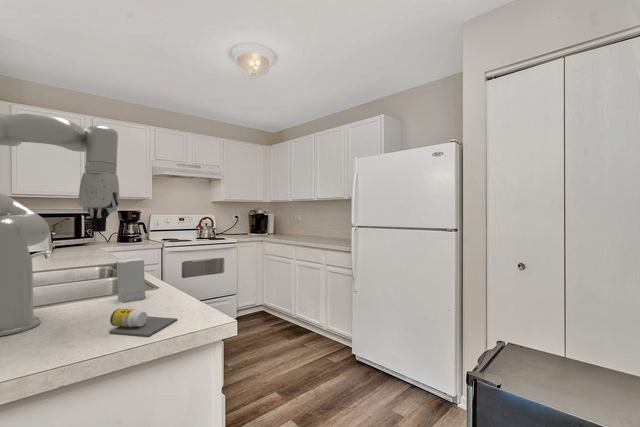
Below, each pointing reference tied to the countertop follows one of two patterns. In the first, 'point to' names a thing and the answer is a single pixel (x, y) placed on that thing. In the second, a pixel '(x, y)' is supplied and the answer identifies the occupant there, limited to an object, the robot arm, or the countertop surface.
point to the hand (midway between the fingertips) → (98, 231)
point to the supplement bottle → (128, 318)
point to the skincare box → (130, 279)
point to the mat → (145, 327)
